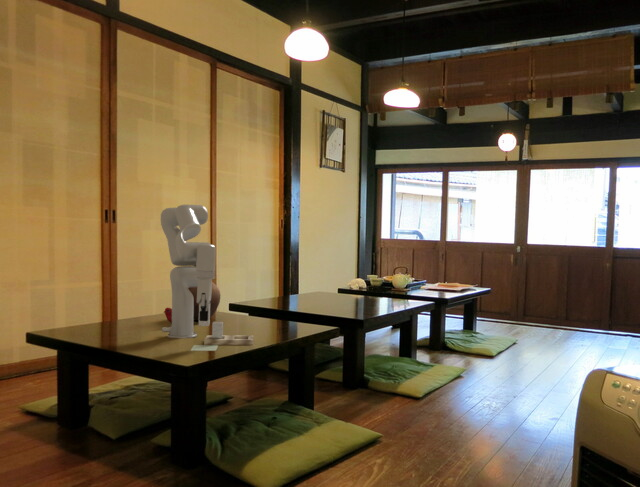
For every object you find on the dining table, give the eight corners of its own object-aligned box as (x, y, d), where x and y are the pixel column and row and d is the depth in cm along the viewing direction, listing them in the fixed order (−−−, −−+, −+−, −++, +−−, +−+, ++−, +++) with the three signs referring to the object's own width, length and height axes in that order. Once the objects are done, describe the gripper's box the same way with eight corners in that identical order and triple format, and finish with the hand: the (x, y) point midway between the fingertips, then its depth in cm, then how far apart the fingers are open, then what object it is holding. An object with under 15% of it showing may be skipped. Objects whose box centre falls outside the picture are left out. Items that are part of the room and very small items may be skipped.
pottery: (167, 319, 287) (167, 272, 287) (201, 314, 306) (201, 270, 305) (195, 325, 274) (196, 275, 273) (229, 319, 292) (229, 273, 291)
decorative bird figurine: (161, 328, 263) (161, 307, 263) (191, 323, 277) (191, 304, 277) (164, 328, 261) (165, 308, 261) (195, 324, 275) (195, 304, 275)
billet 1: (198, 325, 217) (199, 303, 217) (199, 323, 221) (200, 301, 221) (208, 326, 218) (209, 303, 217) (209, 324, 222) (210, 302, 221)
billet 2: (212, 344, 228) (212, 323, 228) (213, 342, 232) (213, 321, 232) (221, 344, 229) (222, 323, 228) (222, 342, 233) (222, 321, 232)
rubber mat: (190, 352, 214) (190, 350, 214) (193, 346, 224) (193, 345, 224) (216, 352, 214) (216, 350, 214) (218, 346, 224) (218, 345, 224)
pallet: (204, 346, 225) (204, 340, 225) (206, 341, 235) (207, 335, 235) (252, 346, 227) (252, 340, 227) (253, 341, 237) (253, 335, 237)
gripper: (198, 272, 226) (197, 315, 227) (193, 277, 210) (191, 323, 211) (217, 272, 227) (215, 315, 228) (212, 277, 210) (211, 324, 212)
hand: (204, 319), depth 220 cm, fingers closed on billet 1, 4 cm apart
